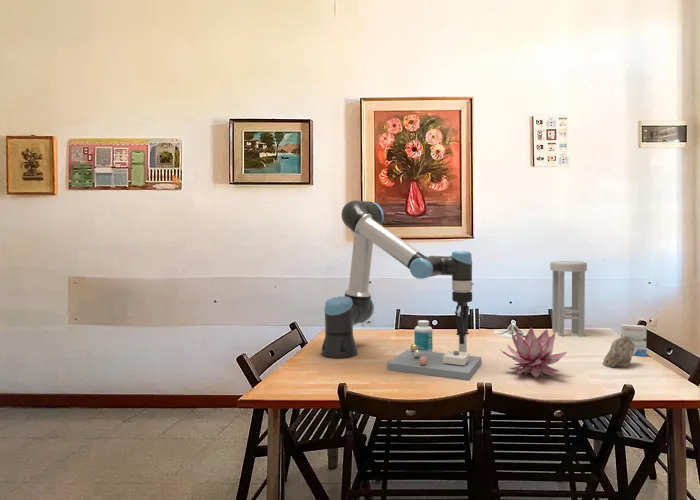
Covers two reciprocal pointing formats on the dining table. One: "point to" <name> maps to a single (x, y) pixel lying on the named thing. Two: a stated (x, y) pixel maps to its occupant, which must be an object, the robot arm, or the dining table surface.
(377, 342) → the dining table surface
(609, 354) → the rock
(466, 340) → the robot arm
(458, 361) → the cover
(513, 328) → the cloth
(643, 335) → the ink box
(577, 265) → the stool
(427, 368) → the board
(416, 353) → the steel ball
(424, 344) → the pill bottle
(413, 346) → the brass ball
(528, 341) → the decorative flower
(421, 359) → the clay ball
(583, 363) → the dining table surface
